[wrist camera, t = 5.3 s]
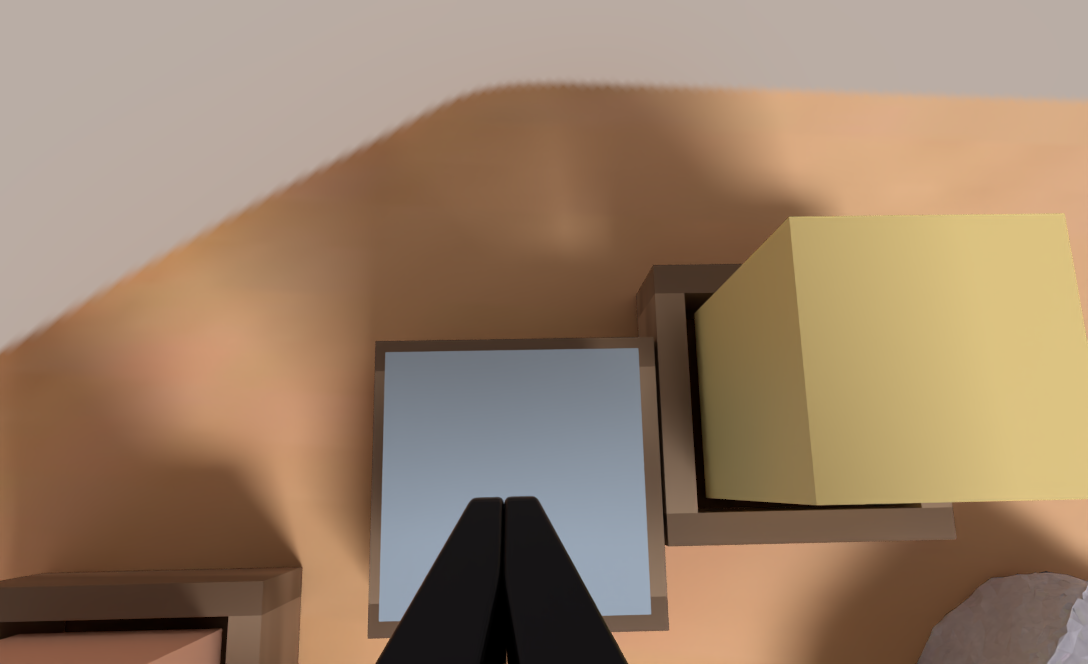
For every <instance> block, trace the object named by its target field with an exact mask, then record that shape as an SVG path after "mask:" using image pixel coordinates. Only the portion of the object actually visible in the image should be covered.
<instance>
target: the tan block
mask: <svg viewBox="0 0 1088 664" xmlns="http://www.w3.org/2000/svg"><path fill="white" fill-rule="evenodd" d="M221 642H222V629H186V630H149V631H111V632H73V633H35V634H18V635H14V636H11V637H7V638H4V639H1V640H0V664H220V658H221Z"/></svg>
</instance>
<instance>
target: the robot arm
mask: <svg viewBox="0 0 1088 664" xmlns="http://www.w3.org/2000/svg"><path fill="white" fill-rule="evenodd" d="M507 663H508V664H628V663H627V661H626V659H625V657H624V655H623V653H622V652H621V650H620V648H619V646H618V644H617V642H616V641H615V639H614V637H613V635H612V633H611V631H610V630H609V628H608V626H607V624H606V622H605V620H604V619H603V617H602V615H601V613H600V611H599V609H598V608H597V606H596V604H595V602H594V600H593V598H592V597H591V595H590V593H589V591H588V589H587V587H586V586H585V584H584V582H583V580H582V578H581V576H580V575H579V573H578V571H577V569H576V567H575V565H574V564H573V562H572V560H571V558H570V556H569V554H568V553H567V551H566V549H565V547H564V545H563V543H562V542H561V540H560V538H559V536H558V534H557V532H556V531H555V529H554V527H553V525H552V523H551V521H550V520H549V518H548V516H547V514H546V512H545V510H544V509H543V507H542V505H541V503H540V501H539V500H538V499H537V498H536V497H534V496H511V497H507V498H506V499H505V502H504V501H503V499H502V498H500V497H478V498H473V499H472V500H470V502H469V503H468V505H467V506H466V508H465V510H464V511H463V513H462V515H461V517H460V518H459V520H458V522H457V524H456V525H455V527H454V529H453V530H452V532H451V534H450V536H449V537H448V539H447V541H446V543H445V544H444V546H443V548H442V550H441V551H440V553H439V555H438V556H437V558H436V560H435V562H434V563H433V565H432V567H431V569H430V570H429V572H428V574H427V575H426V577H425V579H424V581H423V582H422V584H421V586H420V588H419V589H418V591H417V593H416V594H415V596H414V598H413V600H412V601H411V603H410V605H409V607H408V608H407V610H406V612H405V613H404V615H403V617H402V619H401V620H400V622H399V624H398V626H397V627H396V629H395V631H394V633H393V634H392V636H391V638H390V639H389V641H388V643H387V645H386V646H385V648H384V650H383V652H382V653H381V655H380V657H379V658H378V660H377V662H376V664H507Z"/></svg>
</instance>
